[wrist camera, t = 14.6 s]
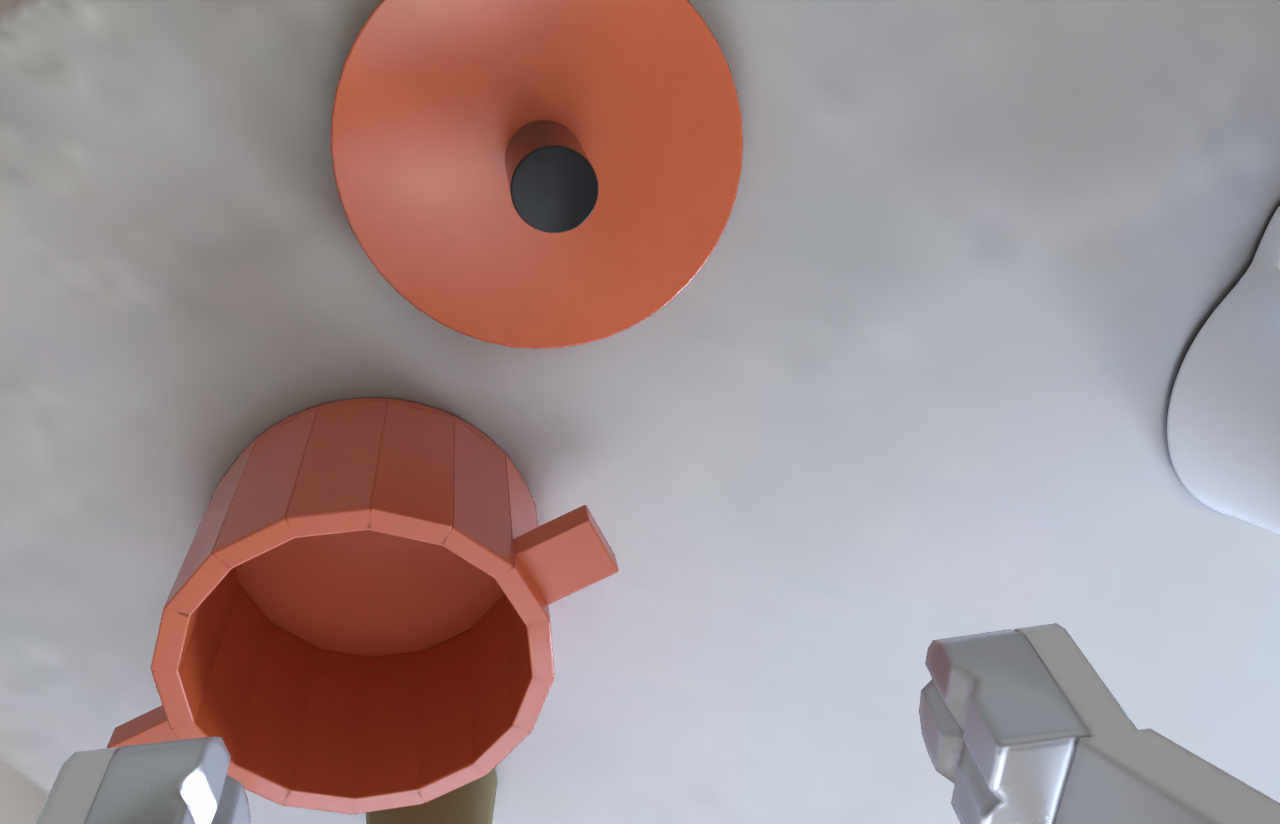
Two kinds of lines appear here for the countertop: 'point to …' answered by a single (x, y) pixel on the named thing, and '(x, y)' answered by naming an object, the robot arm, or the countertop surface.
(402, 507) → the pot
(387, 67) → the pot lid
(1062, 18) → the countertop surface
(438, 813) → the cork
